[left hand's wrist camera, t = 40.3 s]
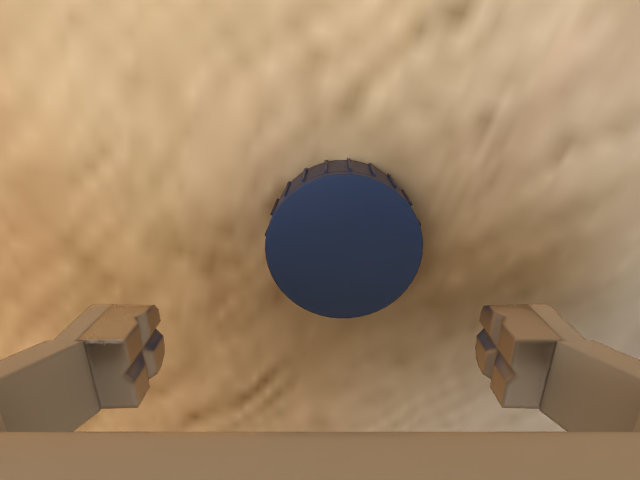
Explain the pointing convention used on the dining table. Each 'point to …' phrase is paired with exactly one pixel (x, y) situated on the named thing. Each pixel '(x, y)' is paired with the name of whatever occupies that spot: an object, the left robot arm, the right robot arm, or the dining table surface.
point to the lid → (343, 240)
